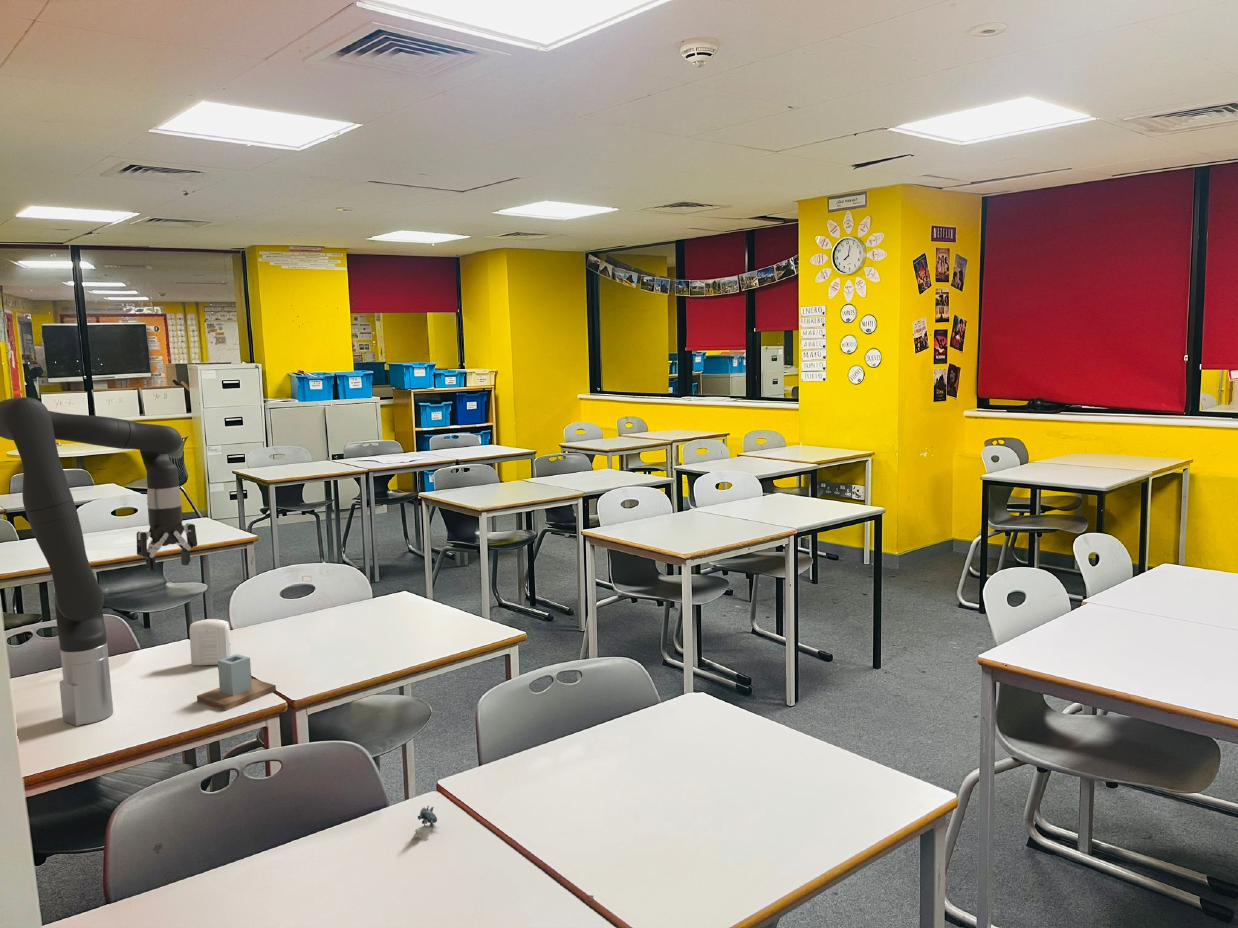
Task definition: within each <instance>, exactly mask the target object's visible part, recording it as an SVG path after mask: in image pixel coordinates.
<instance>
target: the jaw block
mask: <svg viewBox="0 0 1238 928" xmlns="http://www.w3.org/2000/svg"><path fill="white" fill-rule="evenodd" d="M251 666H252V665H251V657H249V656H245V655H242V654H241V655H240V654H238V653H236V654H234V655H231V656H230V657H227V658H224V659H221V660H218V665H217V670H218V683H219V688H220V692H222V693H225V694H228V695H231V696H235V695H237V694H240V693H243V692H245V691H248V690H251V689H252V680H251V678H252V670H251V669H252V668H251Z"/></svg>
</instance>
